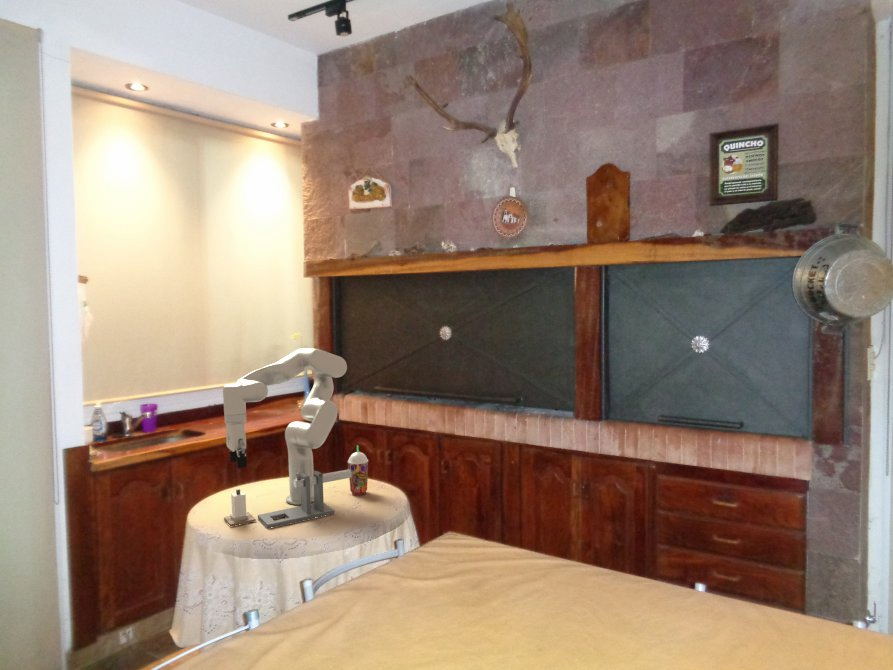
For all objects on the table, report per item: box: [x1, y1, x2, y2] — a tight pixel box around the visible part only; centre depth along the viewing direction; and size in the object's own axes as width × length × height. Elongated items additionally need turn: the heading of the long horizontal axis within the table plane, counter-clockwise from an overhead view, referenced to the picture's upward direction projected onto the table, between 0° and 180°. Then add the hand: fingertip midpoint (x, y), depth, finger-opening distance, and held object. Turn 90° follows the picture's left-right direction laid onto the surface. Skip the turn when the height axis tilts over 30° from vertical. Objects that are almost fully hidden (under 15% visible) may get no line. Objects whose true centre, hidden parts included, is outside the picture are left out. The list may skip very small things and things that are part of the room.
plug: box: [229, 488, 248, 522], centre depth 235 cm, size 5×5×10 cm
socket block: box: [257, 470, 335, 529], centre depth 239 cm, size 12×25×15 cm, turn 123°
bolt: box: [294, 468, 352, 488], centre depth 243 cm, size 3×22×5 cm, turn 123°
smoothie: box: [347, 444, 369, 496], centre depth 264 cm, size 8×8×20 cm
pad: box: [223, 511, 257, 527], centre depth 236 cm, size 9×9×1 cm
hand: (238, 464), depth 235 cm, fingers open, 9 cm apart
